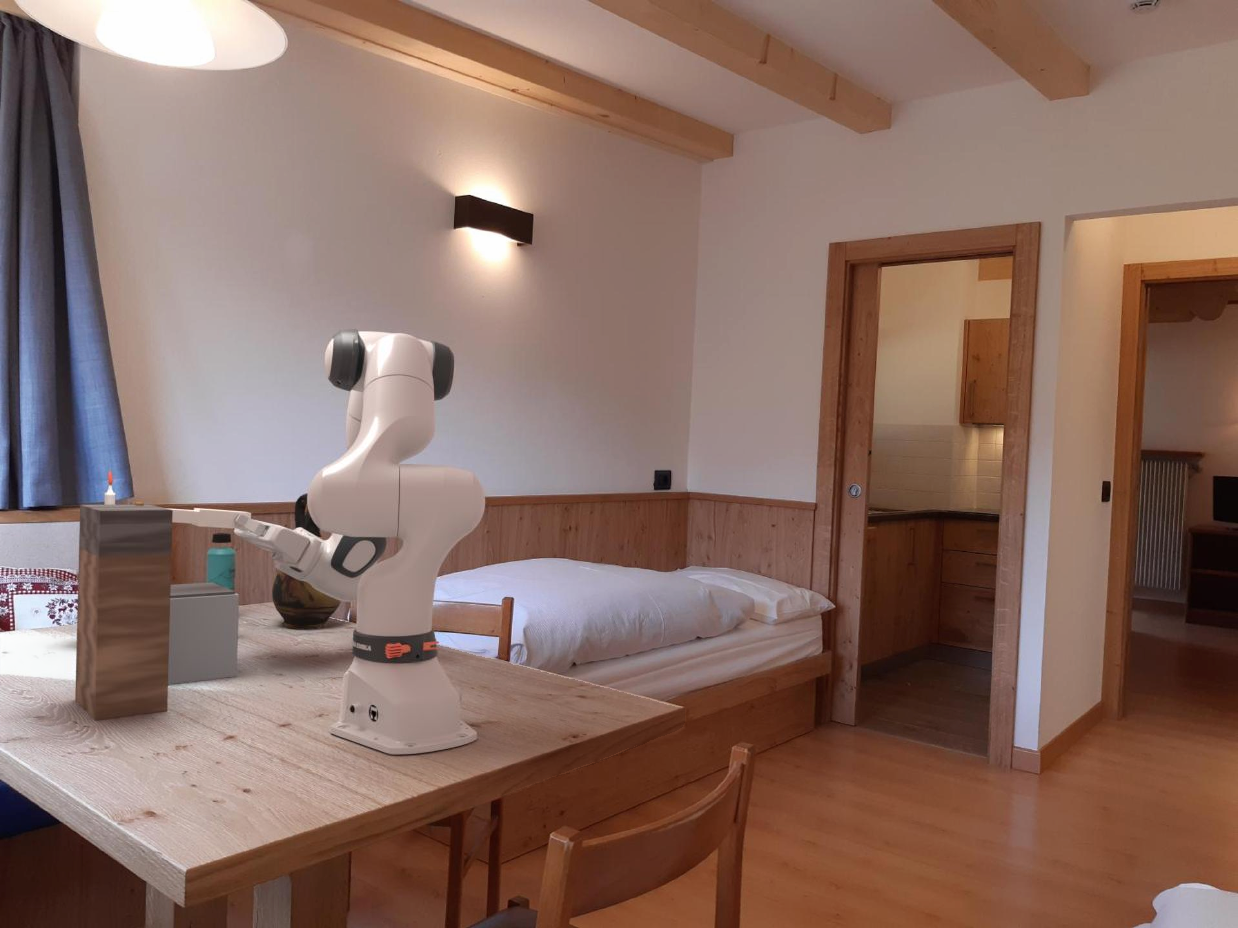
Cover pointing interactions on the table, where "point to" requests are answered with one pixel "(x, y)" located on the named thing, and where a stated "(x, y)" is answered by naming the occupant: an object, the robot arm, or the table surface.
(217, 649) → the shelf
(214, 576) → the beverage bottle
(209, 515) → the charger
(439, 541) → the robot arm
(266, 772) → the table surface
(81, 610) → the stand
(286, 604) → the ceramic jug
